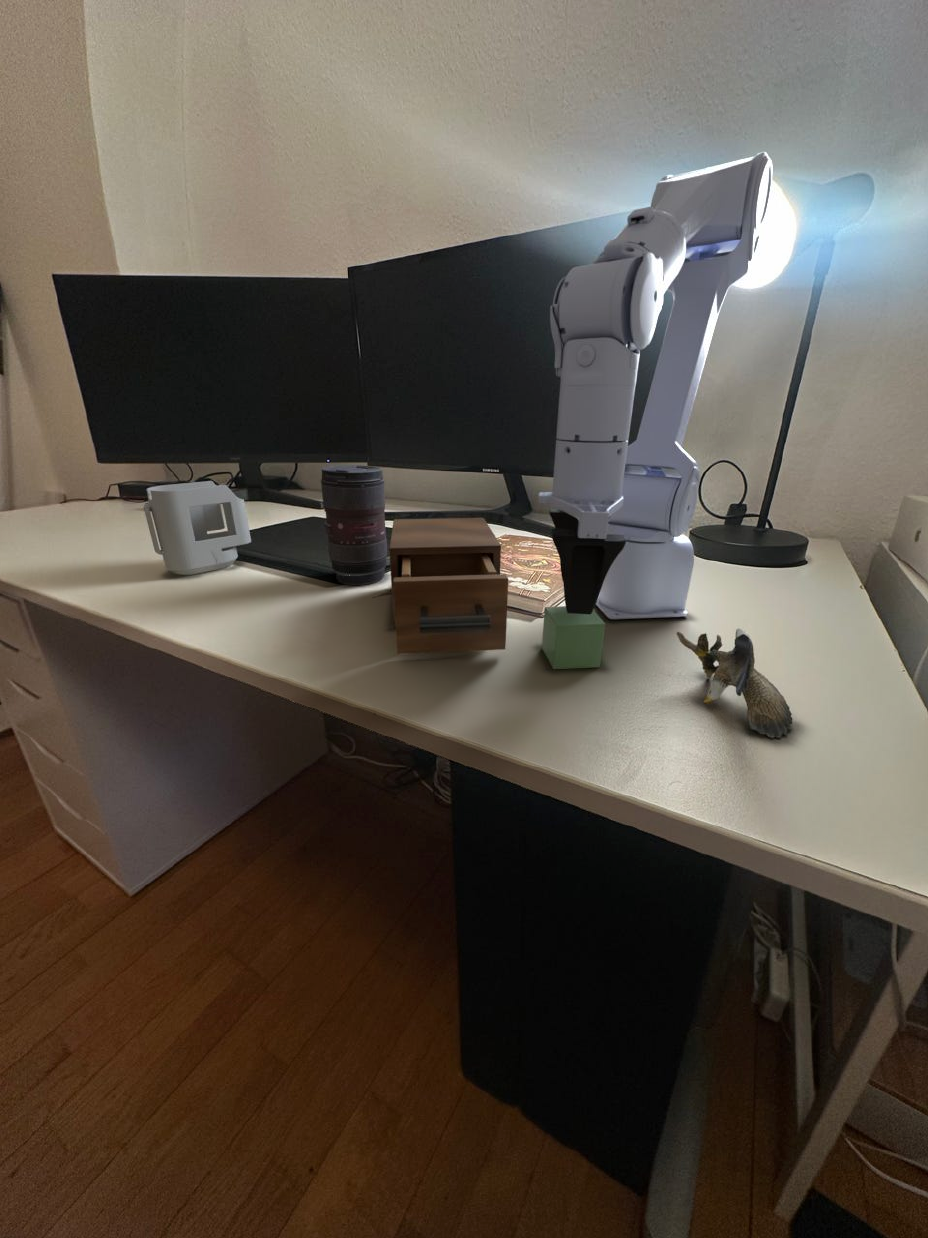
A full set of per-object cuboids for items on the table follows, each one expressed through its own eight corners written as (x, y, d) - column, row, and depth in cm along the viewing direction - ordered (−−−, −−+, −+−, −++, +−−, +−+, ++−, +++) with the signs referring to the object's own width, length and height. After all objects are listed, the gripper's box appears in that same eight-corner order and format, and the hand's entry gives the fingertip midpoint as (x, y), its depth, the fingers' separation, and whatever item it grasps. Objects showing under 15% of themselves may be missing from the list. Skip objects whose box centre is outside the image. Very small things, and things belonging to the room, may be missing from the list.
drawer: (514, 672, 44) (517, 595, 41) (395, 677, 43) (391, 599, 40) (487, 601, 59) (488, 542, 56) (400, 604, 58) (396, 544, 55)
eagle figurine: (650, 671, 43) (722, 712, 35) (695, 601, 43) (780, 625, 34) (711, 707, 45) (793, 754, 37) (754, 640, 45) (848, 673, 36)
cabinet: (498, 624, 55) (501, 545, 51) (394, 628, 54) (389, 548, 50) (482, 583, 67) (483, 517, 64) (397, 586, 66) (393, 519, 63)
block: (584, 645, 50) (589, 605, 48) (600, 667, 46) (605, 623, 44) (541, 647, 50) (544, 606, 48) (553, 669, 46) (557, 625, 44)
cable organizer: (257, 563, 75) (243, 483, 71) (168, 582, 67) (145, 493, 63) (240, 554, 80) (225, 478, 75) (154, 571, 72) (132, 487, 67)
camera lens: (371, 590, 65) (362, 473, 59) (319, 583, 67) (305, 469, 61) (400, 572, 72) (394, 465, 66) (352, 566, 74) (342, 462, 68)
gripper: (541, 434, 47) (533, 569, 52) (542, 446, 34) (531, 625, 39) (617, 435, 46) (600, 572, 52) (648, 448, 33) (622, 631, 38)
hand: (575, 596), depth 45 cm, fingers open, 7 cm apart
